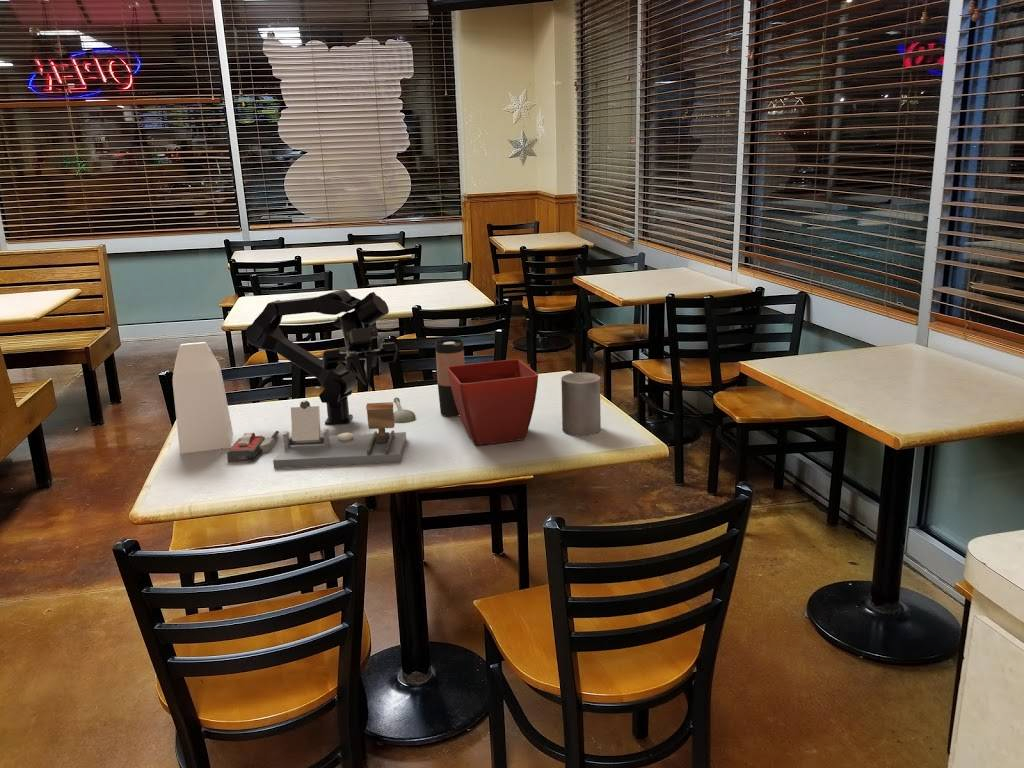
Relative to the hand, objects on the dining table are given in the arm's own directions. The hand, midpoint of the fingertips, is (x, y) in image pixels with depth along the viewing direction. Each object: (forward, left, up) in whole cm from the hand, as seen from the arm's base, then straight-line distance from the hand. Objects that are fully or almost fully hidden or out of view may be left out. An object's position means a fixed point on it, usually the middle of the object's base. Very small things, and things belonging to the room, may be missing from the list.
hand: (367, 384), depth 209 cm
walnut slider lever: (+11, +4, -11) cm, 16 cm away
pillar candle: (+4, +53, -14) cm, 55 cm away
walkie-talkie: (+6, -28, -14) cm, 32 cm away
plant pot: (+5, +31, -14) cm, 34 cm away
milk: (0, -42, -14) cm, 44 cm away
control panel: (+13, -5, -14) cm, 19 cm away
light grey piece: (+12, -14, -10) cm, 21 cm away
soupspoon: (-20, +5, -14) cm, 25 cm away
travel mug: (-16, +20, -14) cm, 29 cm away
